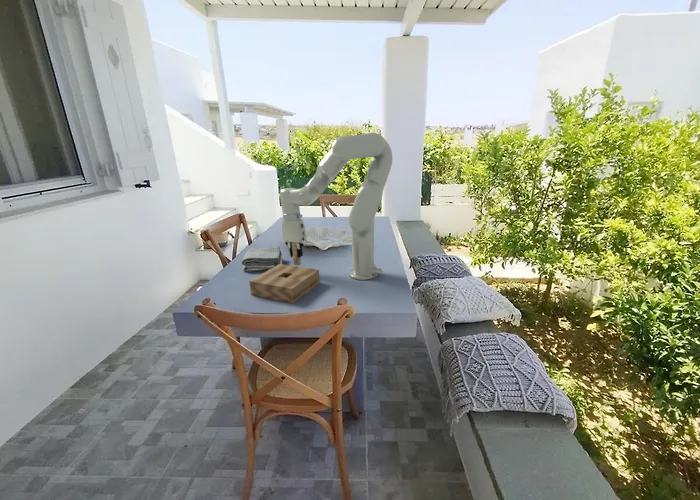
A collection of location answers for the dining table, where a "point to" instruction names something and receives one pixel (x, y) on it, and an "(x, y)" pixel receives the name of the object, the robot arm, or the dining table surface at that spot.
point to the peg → (295, 254)
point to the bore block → (285, 283)
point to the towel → (262, 258)
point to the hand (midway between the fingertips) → (296, 256)
